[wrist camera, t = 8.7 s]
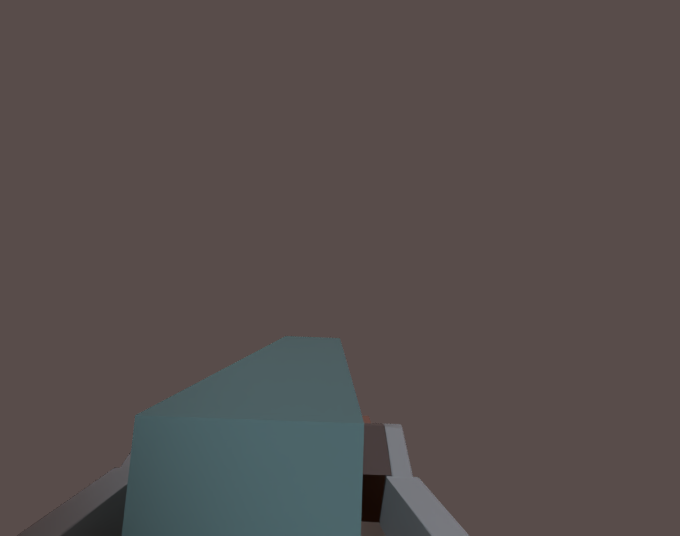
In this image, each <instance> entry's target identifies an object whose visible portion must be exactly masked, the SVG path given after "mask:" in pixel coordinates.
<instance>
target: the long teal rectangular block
mask: <svg viewBox="0 0 680 536" xmlns="http://www.w3.org/2000/svg"><path fill="white" fill-rule="evenodd" d="M363 447H364V421H363V418H362V414H361V411H360V407H359V404H358V400H357V397H356V393H355V390H354V386H353V383H352V379H351V376H350V372H349V369H348V365H347V362H346V358H345V355H344V351H343V348H342V344H341V341H340V339H339V338H318V337H294V336H285V337H283V338H281V339H279V340H277V341H276V342H274V343H272V344H270V345H268V346H266V347H264V348H262V349H260V350H259V351H257V352H255V353H253V354H251V355H249V356H247V357H245V358H243V359H241V360H240V361H238V362H236V363H234V364H232V365H230V366H228V367H226V368H224V369H222V370H221V371H219V372H217V373H215V374H213V375H211V376H209V377H207V378H205V379H203V380H202V381H200V382H198V383H196V384H194V385H192V386H190V387H188V388H186V389H185V390H183V391H181V392H179V393H177V394H175V395H173V396H171V397H169V398H167V399H166V400H164V401H162V402H160V403H158V404H156V405H154V406H152V407H150V408H148V409H147V410H145V411H143V412H141V413H139V414H137V415H136V416H135V423H134V432H133V441H132V449H131V458H130V467H129V475H128V484H127V493H126V501H125V510H124V519H123V527H122V536H361V513H362V480H363Z"/></svg>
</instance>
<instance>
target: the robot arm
mask: <svg viewBox="0 0 680 536" xmlns="http://www.w3.org/2000/svg"><path fill="white" fill-rule="evenodd" d="M130 458H131V452H130V453H129V455H128V457H127V458H126V459H125V461H124V463H123V464H122V466H121V467H120V468H113V469H112V470H110V471H109V472H107V473H106V474H105V475H103V476H102V477H100V478H99V479H98V480H96V481H95V482H94V483H92V484H90V485H89V486H88V487H86V488H85V489H83V490H82V491H80V492H79V493H77V494H76V495H74V496H73V497H72V498H70V499H69V500H67V501H66V502H64V503H63V504H62V505H60V506H59V507H57V508H56V509H54V510H53V511H52V512H50V513H49V514H47V515H46V516H44V517H43V518H41V519H40V520H39V521H37V522H36V523H34V524H33V525H31V526H30V527H29V528H27V529H26V530H24V531H23V532H21V533H20V534H19V535H17V536H122V527H123V519H124V510H125V501H126V493H127V484H128V475H129V467H130ZM361 521H362V522H378V523H380V524H379V525H380V526H381V528H382V530H383V531H384V533H385V535H386V536H469V535H468V534H467V533H466V531H465V530H464V529H463V528H462V527H461V526H460V525H459V524H458V522H457V521H456V520H455V519H454V518H453V517H452V515H451V514H450V513H449V512H448V511H447V510H446V509H445V508H444V506H443V505H442V504H441V503H440V502H439V500H438V499H437V498H436V497H435V496H434V495H433V494H432V492H431V491H430V490H429V489H428V488H427V487H426V485H425V484H424V483H423V482H422V481H421V480H420V479H419V478H418V477H413V474H412V470H411V465H410V461H409V456H408V451H407V447H406V442H405V437H404V433H403V428H402V426H401V425H400V424H381V423H380V424H379V423H364V447H363V480H362V513H361Z"/></svg>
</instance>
